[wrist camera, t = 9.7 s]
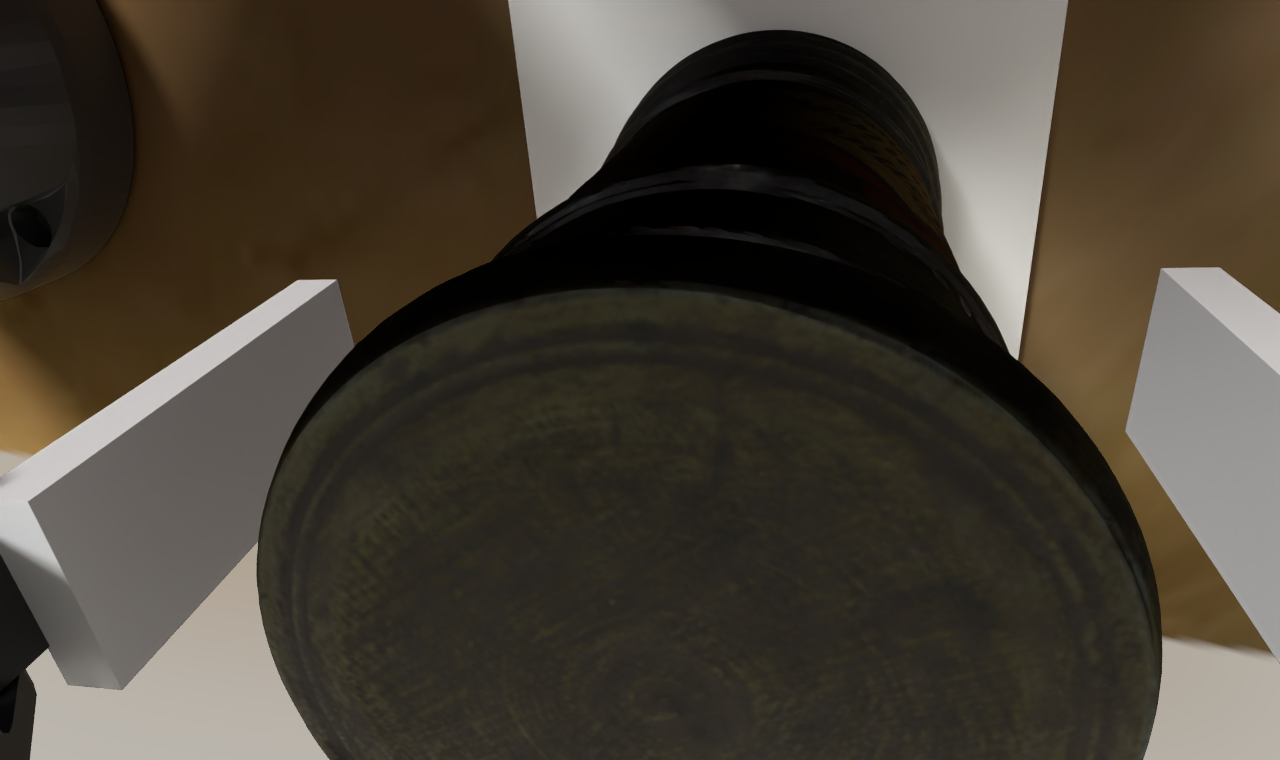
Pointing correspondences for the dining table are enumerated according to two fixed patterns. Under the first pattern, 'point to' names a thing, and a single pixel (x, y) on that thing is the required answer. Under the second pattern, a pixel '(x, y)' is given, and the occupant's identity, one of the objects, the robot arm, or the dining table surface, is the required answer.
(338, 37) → the dining table surface
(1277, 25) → the dining table surface
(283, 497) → the container
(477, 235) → the dining table surface
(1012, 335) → the paper sheet
